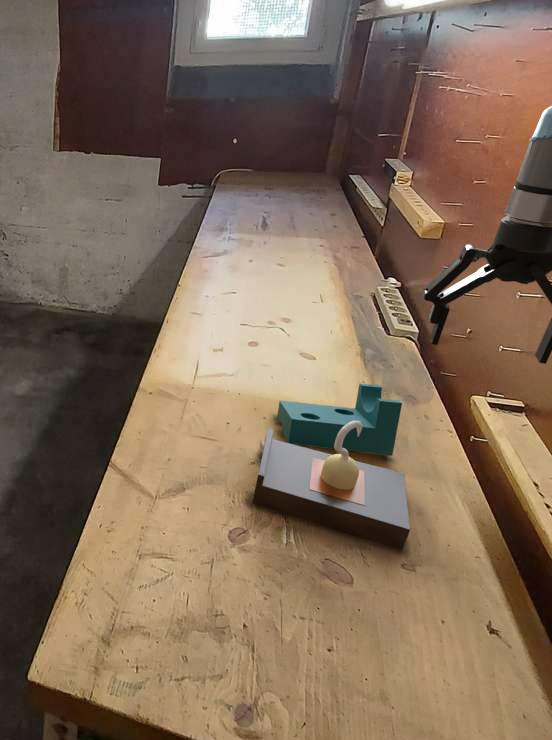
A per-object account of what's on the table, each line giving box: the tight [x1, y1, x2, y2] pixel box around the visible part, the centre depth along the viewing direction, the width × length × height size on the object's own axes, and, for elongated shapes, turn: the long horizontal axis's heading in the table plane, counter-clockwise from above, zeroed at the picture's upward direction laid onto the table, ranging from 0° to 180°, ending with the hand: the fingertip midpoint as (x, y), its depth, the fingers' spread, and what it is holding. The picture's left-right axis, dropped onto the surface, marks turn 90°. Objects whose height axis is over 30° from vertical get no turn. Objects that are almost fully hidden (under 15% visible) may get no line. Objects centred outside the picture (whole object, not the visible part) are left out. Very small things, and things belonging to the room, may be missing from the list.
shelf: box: [251, 428, 411, 551], centre depth 96 cm, size 22×14×6 cm, turn 61°
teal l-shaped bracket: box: [276, 383, 403, 457], centre depth 111 cm, size 18×11×10 cm, turn 76°
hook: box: [321, 421, 362, 490], centre depth 92 cm, size 6×5×12 cm
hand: (485, 350), depth 89 cm, fingers open, 13 cm apart
